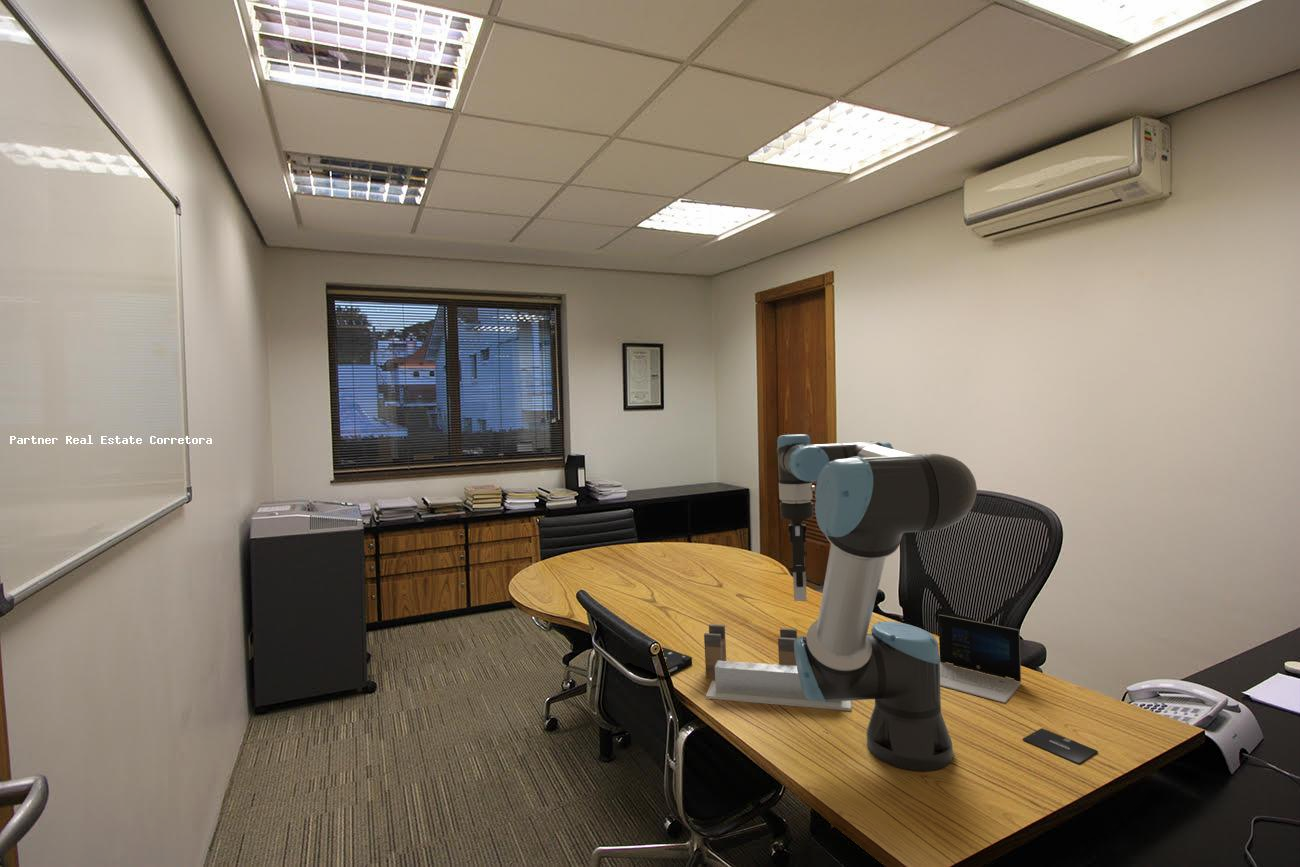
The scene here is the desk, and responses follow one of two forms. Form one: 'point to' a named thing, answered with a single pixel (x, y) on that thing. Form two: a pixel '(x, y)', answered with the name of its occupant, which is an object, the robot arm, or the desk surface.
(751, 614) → the desk surface
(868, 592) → the robot arm
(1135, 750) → the desk surface
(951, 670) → the laptop
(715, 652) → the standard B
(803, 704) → the mat
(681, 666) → the disk drive
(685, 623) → the desk surface
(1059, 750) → the solid state drive
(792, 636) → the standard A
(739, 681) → the rail
